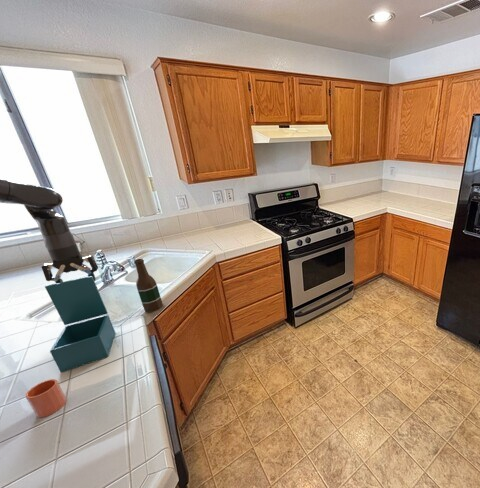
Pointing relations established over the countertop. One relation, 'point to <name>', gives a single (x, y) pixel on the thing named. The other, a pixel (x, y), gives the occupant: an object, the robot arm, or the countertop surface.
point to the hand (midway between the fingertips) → (78, 285)
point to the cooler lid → (77, 299)
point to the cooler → (83, 343)
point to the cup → (46, 398)
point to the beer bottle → (147, 288)
